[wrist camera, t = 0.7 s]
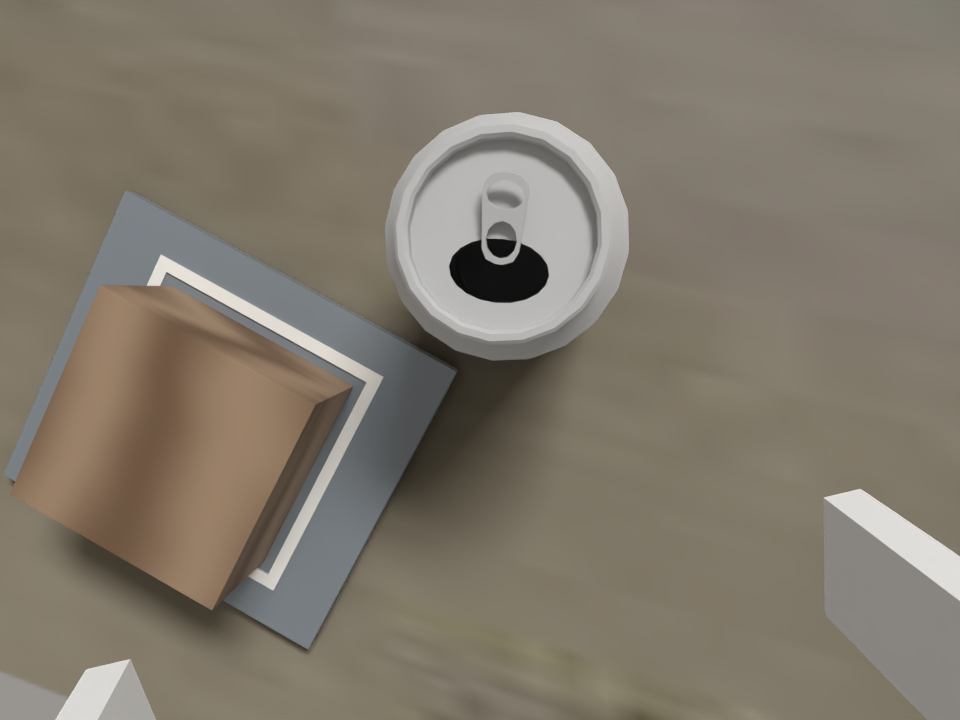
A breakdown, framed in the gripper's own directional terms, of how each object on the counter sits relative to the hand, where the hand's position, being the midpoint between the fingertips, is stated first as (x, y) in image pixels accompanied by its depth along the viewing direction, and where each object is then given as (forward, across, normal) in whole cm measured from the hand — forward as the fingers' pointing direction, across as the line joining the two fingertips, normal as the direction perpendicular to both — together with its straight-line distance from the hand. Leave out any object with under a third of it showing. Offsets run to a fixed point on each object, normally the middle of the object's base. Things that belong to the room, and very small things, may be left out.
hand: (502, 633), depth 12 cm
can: (+20, -5, -4) cm, 20 cm away
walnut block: (+20, +11, +2) cm, 23 cm away
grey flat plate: (+21, +11, +2) cm, 24 cm away
